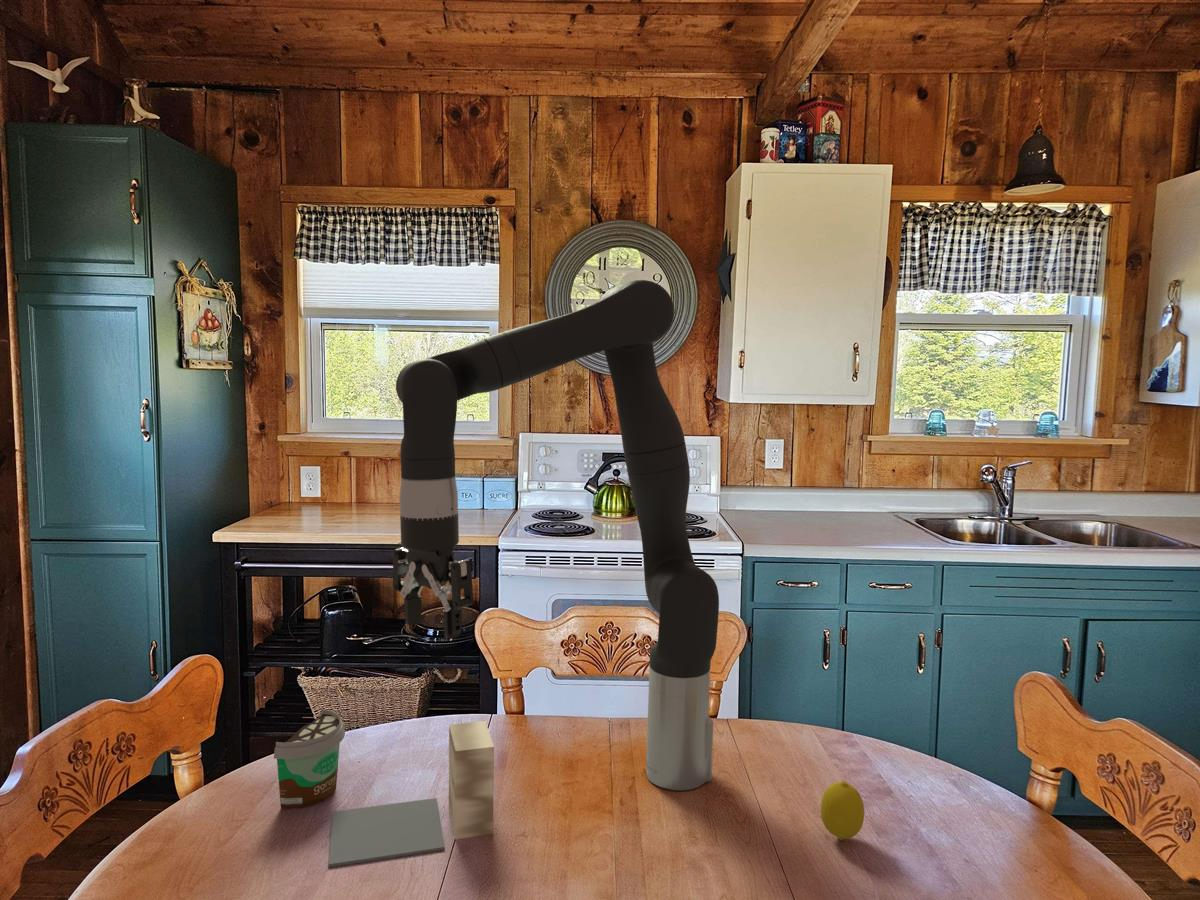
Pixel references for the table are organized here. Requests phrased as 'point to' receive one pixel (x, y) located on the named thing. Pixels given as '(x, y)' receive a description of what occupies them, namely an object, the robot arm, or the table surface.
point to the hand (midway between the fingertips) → (432, 630)
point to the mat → (385, 832)
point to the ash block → (471, 779)
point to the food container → (310, 762)
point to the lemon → (842, 810)
